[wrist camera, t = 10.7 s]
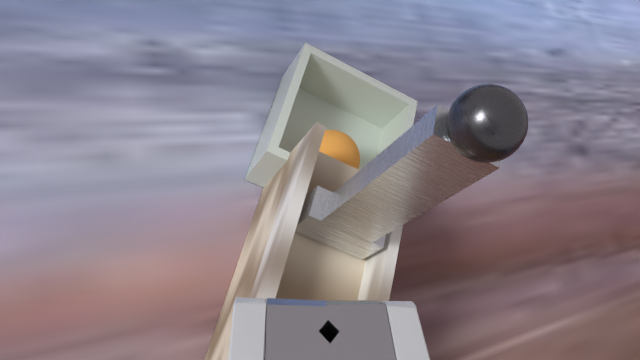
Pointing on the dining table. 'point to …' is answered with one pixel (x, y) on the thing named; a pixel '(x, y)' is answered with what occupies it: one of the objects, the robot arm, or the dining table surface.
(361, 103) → the cup
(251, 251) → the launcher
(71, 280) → the dining table surface
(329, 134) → the ball
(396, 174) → the plunger
